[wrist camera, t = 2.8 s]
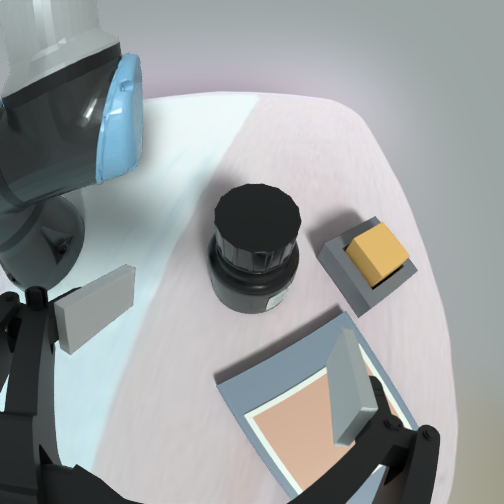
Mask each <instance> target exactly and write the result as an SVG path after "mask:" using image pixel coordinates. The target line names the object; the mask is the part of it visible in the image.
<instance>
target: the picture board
mask: <svg viewBox="0 0 504 504" xmlns="http://www.w3.org/2000/svg"><path fill="white" fill-rule="evenodd" d="M342 328H346V329H350V330H354V333H355V336H356V339H357V341H358V344H359V347H360V350H361V353H362V357H363V360H364V363H365V366H366V369H367V372H368V375H369V376H376V377H377V378H378V380H379V381H380V382H381V383H382V386H383V389H384V392H385V395H386V396H385V397H386V398H387V401H388V404H389V407H390V410H391V413H392V414H393V415H395V416H397V417H398V418H400V419H401V421H402V422H403V425H404V427H405V428H408V429H411V430H414V431H417V430H418V428H419V427H418V425H417V423H416V422H415V420H414V418H413V416H412V415H411V413H410V411H409V410H408V408H407V406H406V405H405V403H404V401H403V400H402V398H401V396H400V395H399V393H398V391H397V390H396V388H395V386H394V385H393V383H392V381H391V380H390V378H389V377H388V375H387V373H386V372H385V370H384V369H383V367H382V365H381V364H380V362H379V361H378V359H377V357H376V356H375V354H374V353H373V351H372V350H371V348H370V347H369V345H368V343H367V342H366V340H365V339H364V337H363V336H362V334H361V333H360V331H359V330H358V328H357V327H356V325H355V324H354V322H353V321H352V319H351V318H350V316H349V315H348V313H347V312H346V311H345V312H343V313H342V314H340V315H339V316H337V317H336V318H334V319H333V320H331V321H330V322H328V323H327V324H325V325H324V326H322V327H321V328H319V329H317V330H316V331H314V332H313V333H311V334H309V335H308V336H306V337H305V338H303V339H301V340H300V341H298V342H296V343H295V344H293V345H291V346H290V347H288V348H286V349H284V350H283V351H281V352H279V353H278V354H276V355H274V356H272V357H270V358H269V359H267V360H265V361H263V362H261V363H260V364H258V365H256V366H254V367H252V368H250V369H248V370H247V371H245V372H243V373H241V374H239V375H237V376H235V377H233V378H231V379H229V380H227V381H225V382H223V383H221V384H219V385H217V386H216V387H217V388H218V390H219V392H220V394H221V395H222V397H223V399H224V401H225V402H226V404H227V406H228V407H229V409H230V411H231V412H232V414H233V416H234V417H235V419H236V421H237V422H238V424H239V425H240V427H241V429H242V430H243V432H244V433H245V435H246V437H247V438H248V440H249V441H250V443H251V444H252V446H253V447H254V449H255V450H256V452H257V453H258V455H259V456H260V458H261V459H262V461H263V462H264V463H265V465H266V466H267V468H268V469H269V470H270V472H271V473H272V475H273V476H274V477H275V479H276V480H277V481H278V483H279V484H280V485H281V487H282V488H283V489H284V491H285V492H286V493H287V495H288V496H289V497H290V499H291V500H293V499H294V498H295V497H297V496H298V495H299V494H301V493H302V492H303V491H304V490H306V489H307V488H308V487H309V486H311V485H312V484H313V483H314V482H315V481H317V480H318V479H319V478H320V477H321V476H322V475H323V474H325V473H326V472H327V471H328V470H329V469H330V468H331V467H332V466H333V465H334V464H336V463H337V462H338V461H339V460H340V459H341V458H342V457H343V456H344V455H345V454H346V453H347V452H348V451H349V450H350V449H351V448H352V447H353V446H354V445H355V440H354V441H353V442H352V443H351V445H350V446H349V447H344V446H334V445H333V431H332V419H331V407H330V397H329V387H328V378H327V369H326V362H327V360H328V358H329V356H330V354H331V352H332V349H333V347H334V345H335V343H336V340H337V338H338V336H339V334H340V331H341V329H342ZM385 468H386V466H383V465H380V464H379V465H378V467H377V468H376V469H375V470H374V472H373V473H372V474H371V475H370V477H369V478H368V479H367V480H366V481H365V483H364V484H363V485H362V486H361V487H360V488H359V490H358V491H357V492H356V493H355V494H354V495H353V496H352V497H351V498H350V499H349V500H348V502H347V503H346V504H371V503H372V501H373V499H374V497H375V494H376V492H377V489H378V487H379V484H380V482H381V479H382V477H383V474H384V471H385Z"/></svg>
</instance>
